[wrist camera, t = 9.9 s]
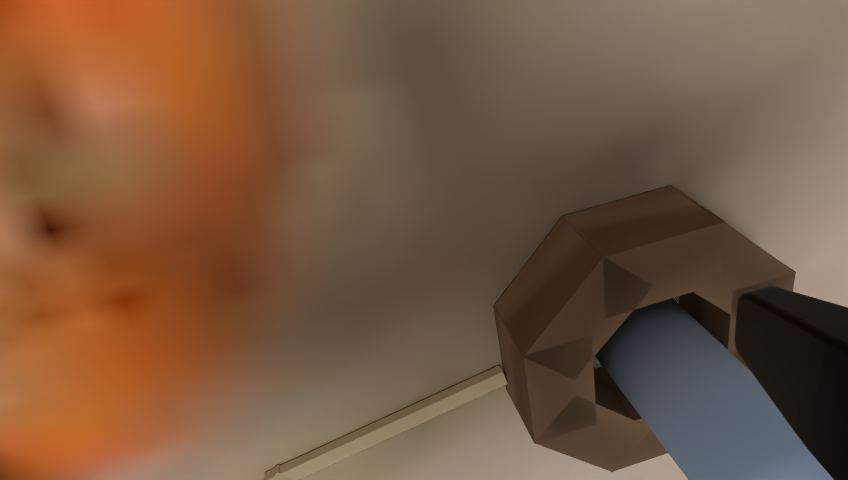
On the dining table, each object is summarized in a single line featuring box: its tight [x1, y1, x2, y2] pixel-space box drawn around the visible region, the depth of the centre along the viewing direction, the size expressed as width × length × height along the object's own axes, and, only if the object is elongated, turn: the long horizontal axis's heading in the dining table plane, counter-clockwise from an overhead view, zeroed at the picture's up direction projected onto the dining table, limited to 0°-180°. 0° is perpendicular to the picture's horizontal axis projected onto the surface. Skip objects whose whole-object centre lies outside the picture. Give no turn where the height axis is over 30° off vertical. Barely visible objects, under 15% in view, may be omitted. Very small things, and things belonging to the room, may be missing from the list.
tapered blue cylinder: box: [595, 298, 834, 480], centre depth 21 cm, size 4×4×9 cm
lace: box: [264, 366, 508, 480], centre depth 24 cm, size 15×3×1 cm, turn 122°
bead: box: [493, 186, 795, 472], centre depth 23 cm, size 10×10×3 cm
